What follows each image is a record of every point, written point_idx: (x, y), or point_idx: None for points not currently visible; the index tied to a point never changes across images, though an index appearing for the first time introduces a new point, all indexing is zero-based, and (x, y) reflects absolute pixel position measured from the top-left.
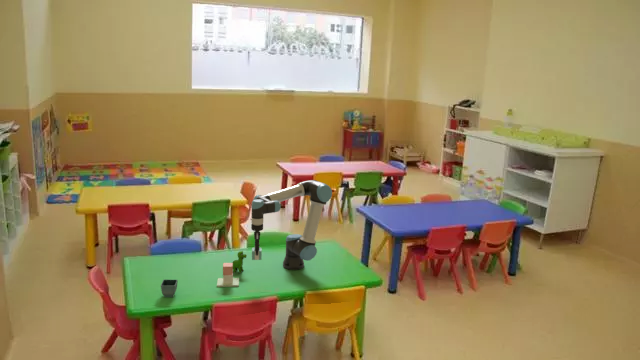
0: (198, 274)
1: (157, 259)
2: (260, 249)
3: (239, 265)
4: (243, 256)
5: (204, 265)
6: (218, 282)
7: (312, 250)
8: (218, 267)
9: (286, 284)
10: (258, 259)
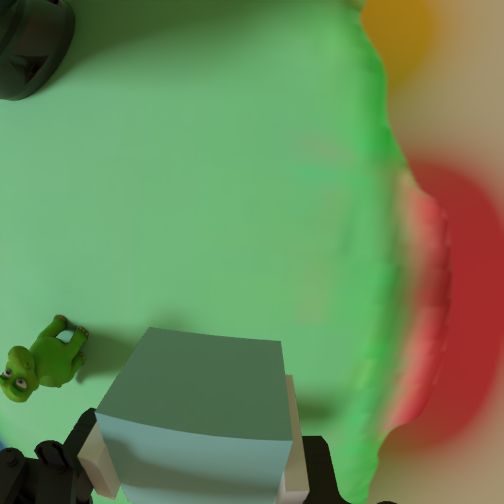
0: None
1: None
2: (193, 446)
3: (64, 359)
4: (31, 371)
5: (52, 431)
6: None
7: None
8: (53, 400)
9: (258, 78)
10: (291, 381)
